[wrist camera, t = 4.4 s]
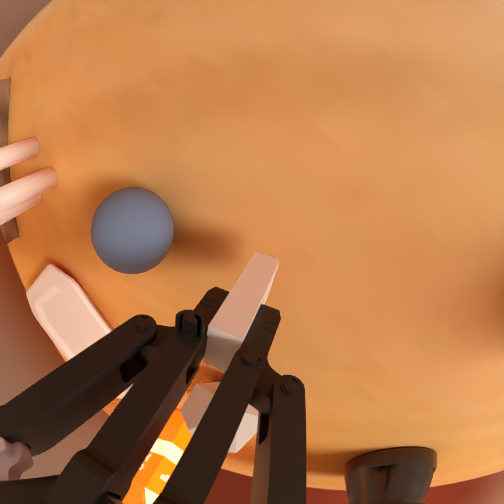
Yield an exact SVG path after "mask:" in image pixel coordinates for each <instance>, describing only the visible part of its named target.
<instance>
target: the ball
mask: <svg viewBox="0 0 504 504" xmlns="http://www.w3.org/2000/svg"><path fill="white" fill-rule="evenodd" d="M173 236H174V223H173V218H172V215H171V213H170V210H169V209H168V207H167V205H166V204H165V203H164V201H163V200H162V199H161V198H160V197H159V196H157V195H156V194H154V193H153V192H151V191H149V190H146V189H143V188H135V187H130V188H124V189H121V190H118V191H116V192H114V193H112V194H110V195H109V196H108V197H107V198H105V199H104V200H103V201H102V203H101V204H100V205H99V207H98V208H97V210H96V212H95V214H94V217H93V220H92V226H91V238H92V243H93V246H94V248H95V251H96V253H97V254H98V256H99V257H100V259H101V260H102V261H103V262H104V263H105V264H106V265H107V266H109V267H110V268H112V269H114V270H115V271H118V272H121V273H125V274H138V273H143V272H146V271H148V270H150V269H152V268H154V267H155V266H157V265H158V264H159V263H160V262H161V261H162V260H163V259H164V258H165V256H166V255H167V253H168V252H169V250H170V247H171V245H172V241H173Z"/></svg>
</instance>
